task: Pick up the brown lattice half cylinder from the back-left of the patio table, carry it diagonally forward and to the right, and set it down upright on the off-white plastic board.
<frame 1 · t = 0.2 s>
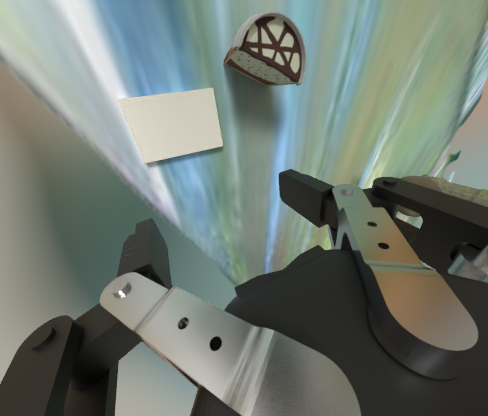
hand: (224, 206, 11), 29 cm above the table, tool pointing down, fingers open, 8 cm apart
brown lattice half cylinder: (250, 57, 33), on the table
thermos: (418, 184, 82), on the table
board: (177, 125, 33), on the table
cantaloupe: (391, 188, 74), on the table
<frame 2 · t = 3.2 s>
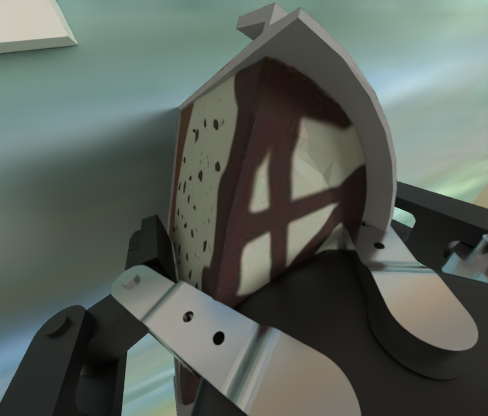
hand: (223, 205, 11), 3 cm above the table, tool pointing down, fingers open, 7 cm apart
brown lattice half cylinder: (215, 187, 14), on the table, touching gripper
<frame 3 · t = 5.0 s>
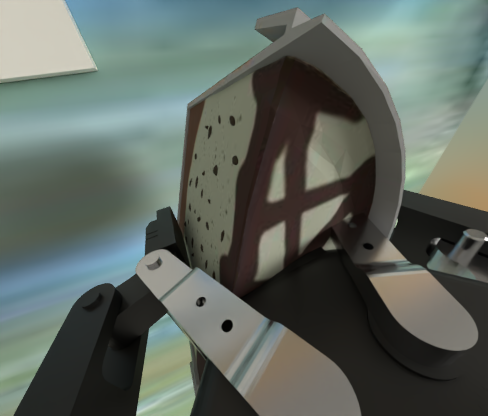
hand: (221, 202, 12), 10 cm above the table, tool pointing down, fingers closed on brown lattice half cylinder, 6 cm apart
brown lattice half cylinder: (222, 183, 14), point 8 cm above the table, touching gripper
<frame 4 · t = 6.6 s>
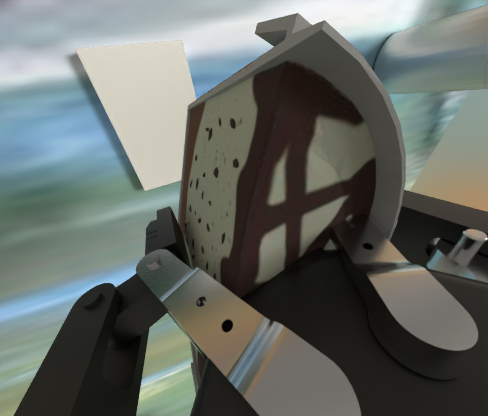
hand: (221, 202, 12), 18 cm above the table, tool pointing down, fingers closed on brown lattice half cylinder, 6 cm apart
brown lattice half cylinder: (222, 184, 14), point 15 cm above the table, touching gripper
board: (160, 123, 23), on the table
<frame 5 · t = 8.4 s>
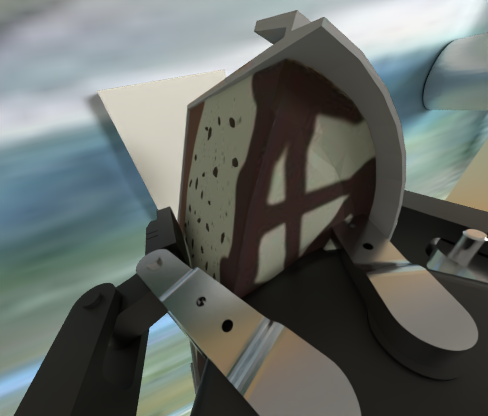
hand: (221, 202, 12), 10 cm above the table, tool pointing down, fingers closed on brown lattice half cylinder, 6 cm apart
brown lattice half cylinder: (222, 184, 14), point 7 cm above the table, touching gripper
board: (193, 165, 20), on the table
when the fingers open (5 cm above the table, at t = 9.9 s): brown lattice half cylinder moves 1 cm, resting on board.
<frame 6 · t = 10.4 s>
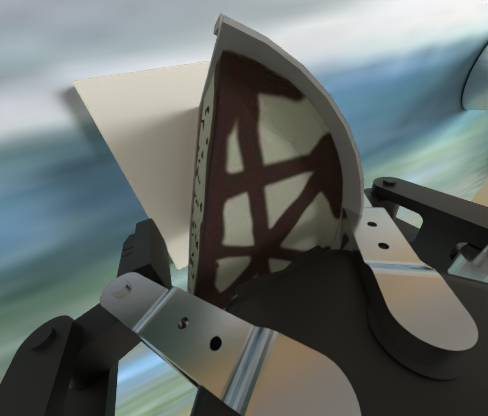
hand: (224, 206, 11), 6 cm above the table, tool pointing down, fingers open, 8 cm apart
brown lattice half cylinder: (232, 178, 15), point 2 cm above the table, touching board
board: (202, 178, 16), on the table
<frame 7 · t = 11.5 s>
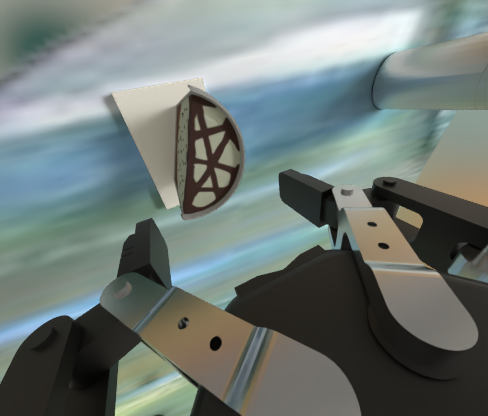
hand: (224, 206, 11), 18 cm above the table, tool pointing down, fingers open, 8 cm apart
brown lattice half cylinder: (197, 147, 25), point 1 cm above the table, touching board
board: (181, 149, 26), on the table
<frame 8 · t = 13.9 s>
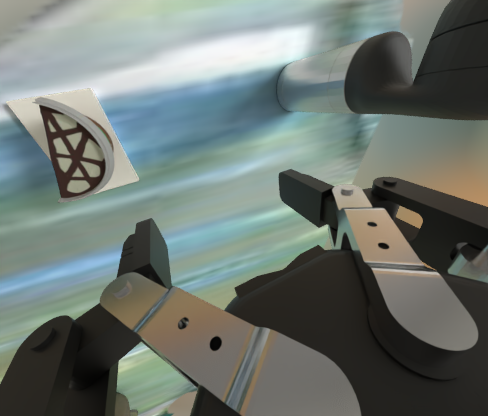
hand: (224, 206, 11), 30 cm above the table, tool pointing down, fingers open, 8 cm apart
brown lattice half cylinder: (100, 146, 30), point 1 cm above the table, touching board
board: (86, 147, 30), on the table
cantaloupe: (107, 396, 62), on the table
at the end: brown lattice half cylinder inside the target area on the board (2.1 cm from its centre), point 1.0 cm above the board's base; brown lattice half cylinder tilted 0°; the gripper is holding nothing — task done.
